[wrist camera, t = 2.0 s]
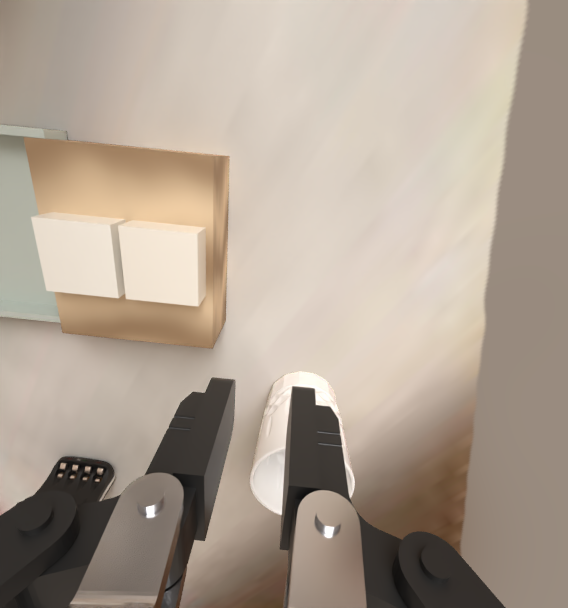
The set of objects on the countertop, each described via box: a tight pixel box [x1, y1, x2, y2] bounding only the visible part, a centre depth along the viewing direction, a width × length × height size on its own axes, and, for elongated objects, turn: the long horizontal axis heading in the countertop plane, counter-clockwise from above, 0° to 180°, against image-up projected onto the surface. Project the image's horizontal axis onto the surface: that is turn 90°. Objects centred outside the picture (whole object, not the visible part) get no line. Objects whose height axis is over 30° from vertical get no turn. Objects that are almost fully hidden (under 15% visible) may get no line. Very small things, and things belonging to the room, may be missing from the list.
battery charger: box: [17, 457, 115, 506], centre depth 35 cm, size 7×4×11 cm, turn 83°
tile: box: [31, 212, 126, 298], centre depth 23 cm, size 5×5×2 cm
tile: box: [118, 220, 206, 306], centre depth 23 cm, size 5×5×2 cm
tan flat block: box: [23, 137, 229, 348], centre depth 26 cm, size 14×12×5 cm
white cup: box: [250, 371, 355, 516], centre depth 30 cm, size 8×8×10 cm
